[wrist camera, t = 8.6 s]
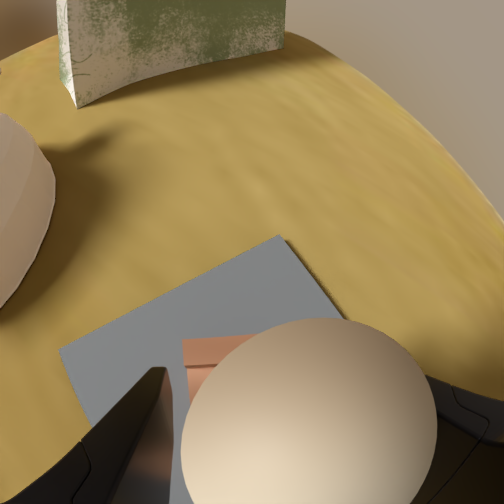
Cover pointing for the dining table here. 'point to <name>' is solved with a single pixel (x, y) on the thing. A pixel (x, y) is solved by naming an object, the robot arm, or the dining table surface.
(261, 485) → the cylinder on pink base
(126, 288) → the dining table surface
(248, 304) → the mat
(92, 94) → the grocery bag
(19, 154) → the kettle
